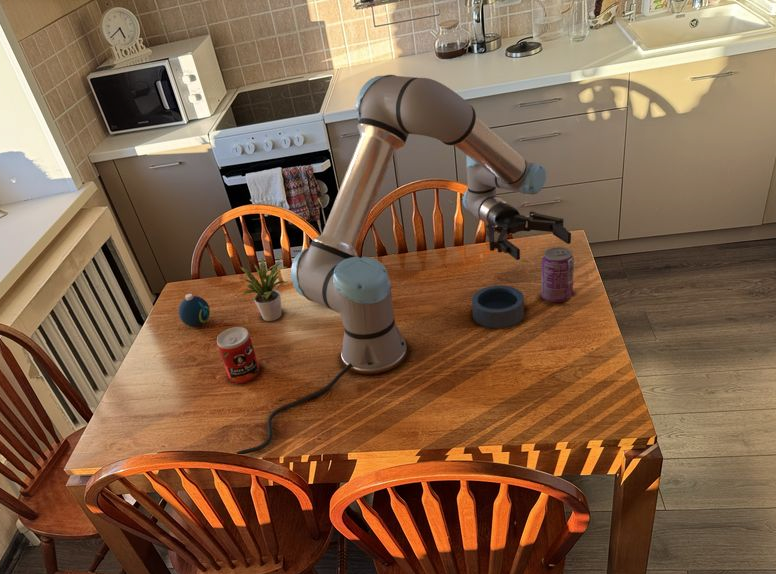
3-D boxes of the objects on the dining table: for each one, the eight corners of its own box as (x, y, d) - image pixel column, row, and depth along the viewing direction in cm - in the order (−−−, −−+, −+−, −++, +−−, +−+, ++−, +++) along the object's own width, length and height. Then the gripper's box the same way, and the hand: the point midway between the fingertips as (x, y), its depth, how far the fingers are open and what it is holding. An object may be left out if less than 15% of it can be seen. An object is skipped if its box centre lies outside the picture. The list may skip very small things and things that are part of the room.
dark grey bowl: (500, 334, 149) (500, 318, 146) (462, 316, 157) (461, 301, 155) (534, 311, 154) (534, 295, 151) (495, 295, 162) (495, 280, 160)
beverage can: (566, 287, 160) (568, 243, 153) (576, 301, 154) (579, 257, 147) (537, 292, 160) (538, 249, 153) (546, 307, 154) (547, 262, 147)
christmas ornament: (192, 336, 173) (180, 305, 167) (178, 325, 179) (167, 295, 173) (219, 322, 176) (208, 291, 170) (205, 312, 182) (194, 281, 177)
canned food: (231, 387, 151) (218, 350, 145) (226, 369, 158) (214, 332, 151) (262, 378, 152) (251, 340, 146) (256, 359, 159) (245, 322, 152)
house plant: (308, 320, 169) (295, 265, 160) (259, 338, 166) (243, 283, 157) (290, 297, 180) (278, 244, 171) (244, 314, 178) (228, 261, 168)
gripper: (541, 215, 176) (589, 245, 159) (457, 241, 173) (497, 275, 156) (542, 189, 172) (591, 217, 154) (456, 216, 168) (496, 247, 151)
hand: (544, 246), depth 155 cm, fingers open, 13 cm apart
